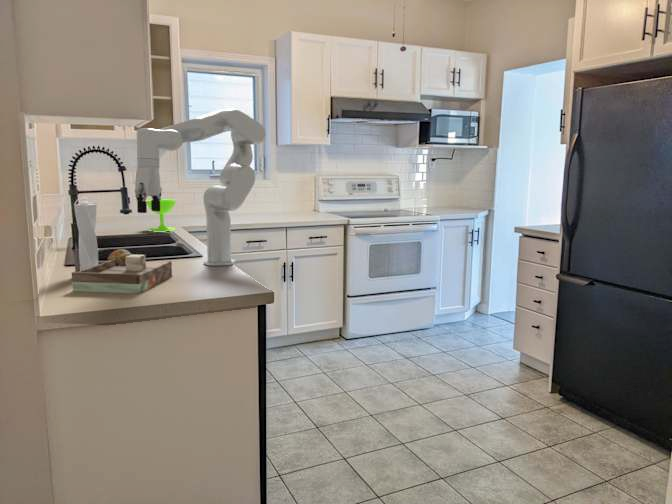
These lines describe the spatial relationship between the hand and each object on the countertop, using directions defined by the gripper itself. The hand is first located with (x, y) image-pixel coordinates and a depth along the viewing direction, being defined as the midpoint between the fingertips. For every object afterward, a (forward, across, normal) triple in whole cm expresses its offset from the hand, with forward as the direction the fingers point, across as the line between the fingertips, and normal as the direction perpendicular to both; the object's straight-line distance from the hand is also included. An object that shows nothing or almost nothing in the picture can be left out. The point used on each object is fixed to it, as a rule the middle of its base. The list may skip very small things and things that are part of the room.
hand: (149, 211), depth 191 cm
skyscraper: (+24, +5, -21) cm, 32 cm away
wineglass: (+21, -114, -54) cm, 128 cm away
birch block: (+20, +7, -2) cm, 21 cm away
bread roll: (+23, -15, -21) cm, 35 cm away
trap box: (+23, +15, -1) cm, 28 cm away
